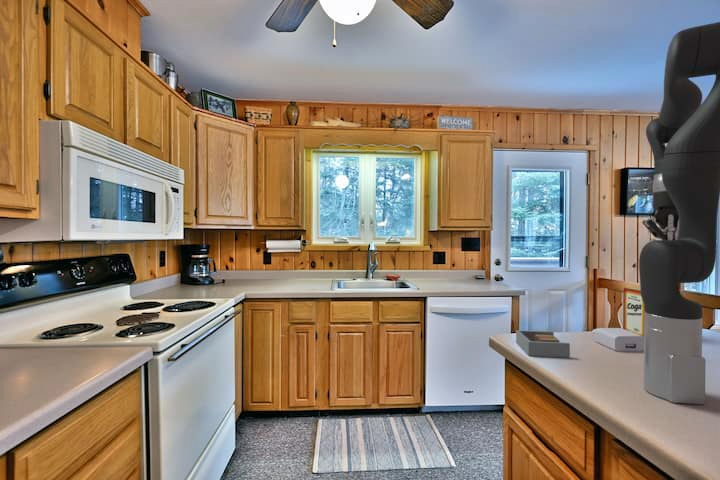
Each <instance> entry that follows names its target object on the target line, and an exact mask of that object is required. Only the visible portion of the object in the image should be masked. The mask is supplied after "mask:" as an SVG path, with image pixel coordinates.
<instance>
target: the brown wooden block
mask: <svg viewBox="0 0 720 480" xmlns="http://www.w3.org/2000/svg"><path fill="white" fill-rule="evenodd" d="M535 341H536V342H560V339H558V338H557V337H556V336H553V335H535Z"/></svg>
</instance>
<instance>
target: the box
mask: <svg viewBox="0 0 720 480" xmlns="http://www.w3.org/2000/svg"><path fill="white" fill-rule="evenodd" d="M554 334H555V333H554V331H548V330H547V331H545V330H544V331H543V330H542V331H541V330H524V329H523V330H519V329H518V330H517V329H516V330H515V343H516V344H517V346H519V347H520V349H521V350H522V351H523V352H524V353H525V354H526V355H527V356H528V357H541V358H542V357H543V358H544V357H545V358H562V359H563V358H565V359H570V358H571V350H570V349H571V345H570V344H571V343H569V342H560V341H559V342H536V341H535V335H553V336H554ZM554 337H555V336H554Z"/></svg>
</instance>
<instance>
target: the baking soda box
mask: <svg viewBox="0 0 720 480" xmlns="http://www.w3.org/2000/svg"><path fill="white" fill-rule="evenodd" d="M644 315H645V311H644V303H643V300H642V297H641V288H640V287H623V328H622V329H624V330H627V331H632V332H633V333H635V334H638V335H641V336H643V337H644Z"/></svg>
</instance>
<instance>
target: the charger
mask: <svg viewBox="0 0 720 480" xmlns="http://www.w3.org/2000/svg"><path fill="white" fill-rule="evenodd" d="M591 333H592V334H593V335H594V342H596V343H597V344H600V345H602V346H605V347H606V348H609V349H610V350H613V351H615V352H644V337H643V336H641V335H638V334H635V333H633V332H630V331H627V330H624V329H623V328H621V327H597V328H595V329H594V328H593V329H592V331H591Z"/></svg>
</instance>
